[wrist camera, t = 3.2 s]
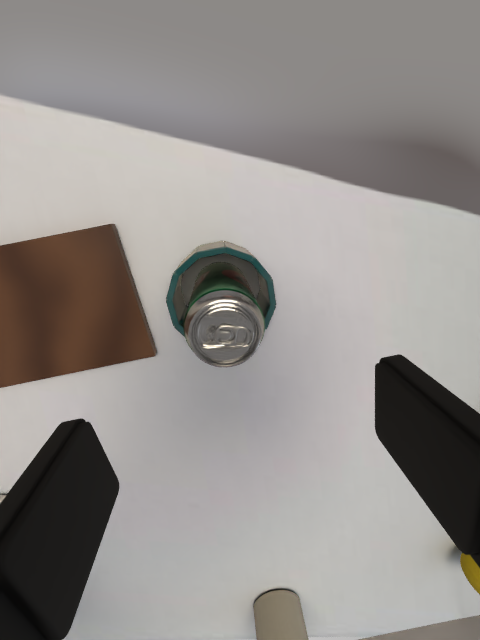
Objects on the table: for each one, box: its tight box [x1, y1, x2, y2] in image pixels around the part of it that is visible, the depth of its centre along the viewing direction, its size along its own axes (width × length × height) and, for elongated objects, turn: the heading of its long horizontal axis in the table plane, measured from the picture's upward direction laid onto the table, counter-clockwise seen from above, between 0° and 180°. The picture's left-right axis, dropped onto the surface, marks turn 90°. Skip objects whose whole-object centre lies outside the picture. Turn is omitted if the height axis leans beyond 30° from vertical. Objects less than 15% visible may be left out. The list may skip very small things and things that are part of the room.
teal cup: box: [166, 241, 276, 337], centre depth 25 cm, size 9×9×6 cm
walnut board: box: [0, 224, 157, 388], centre depth 26 cm, size 20×13×1 cm, turn 100°
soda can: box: [183, 262, 265, 367], centre depth 22 cm, size 5×5×12 cm
